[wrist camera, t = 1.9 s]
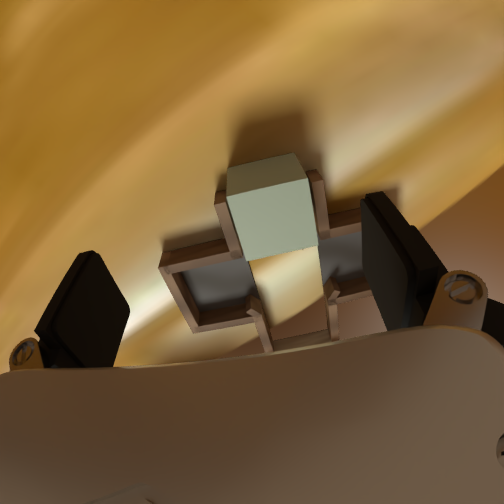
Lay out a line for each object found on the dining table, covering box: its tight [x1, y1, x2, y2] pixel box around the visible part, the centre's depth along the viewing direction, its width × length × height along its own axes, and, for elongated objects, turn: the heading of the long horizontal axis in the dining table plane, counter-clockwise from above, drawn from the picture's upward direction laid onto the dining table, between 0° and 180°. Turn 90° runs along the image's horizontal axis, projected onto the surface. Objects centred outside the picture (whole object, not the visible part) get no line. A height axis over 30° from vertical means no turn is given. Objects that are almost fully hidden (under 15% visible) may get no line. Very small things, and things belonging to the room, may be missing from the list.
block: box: [226, 153, 318, 261], centre depth 27 cm, size 6×6×6 cm
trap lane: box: [158, 170, 373, 353], centre depth 33 cm, size 23×24×5 cm
